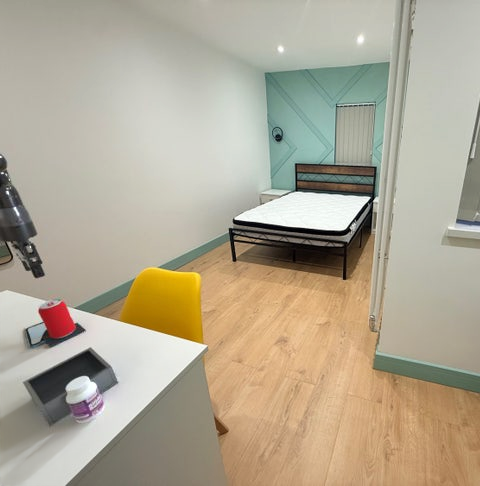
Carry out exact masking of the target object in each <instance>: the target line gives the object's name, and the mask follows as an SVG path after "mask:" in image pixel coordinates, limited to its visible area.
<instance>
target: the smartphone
mask: <svg viewBox="0 0 480 486" xmlns="http://www.w3.org/2000/svg"><path fill="white" fill-rule="evenodd" d="M24 334H25V338H26V341H27V344H28V347H29V349H34V348H37V347H39V346H42V345H44V344H47V343H46V342H45V340H44V339H43V337H45V336H48V335H50V334H49V332H48V330H47V328H46V326H45V324H44V322H43V321H42V322H38V323H35V324H33V325H31V326H28V327H26V328H25V329H24Z"/></svg>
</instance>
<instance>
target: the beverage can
mask: <svg viewBox="0 0 480 486" xmlns="http://www.w3.org/2000/svg"><path fill="white" fill-rule="evenodd" d="M37 312H38V315H39V317H40V318H41V321H42V322H44V324H45V326H46V328H47V330H48V332H49V334H50V336H51V338H62V337H65V336H68V335H69V334H71V333H72V332H73V331H74V330H75V329H76V326H75V322H74V320H73V317H72V315H71V313H70V311H69V309H68V306H67V304H66V303H65V302H64V301H63V300H62V299H61V298H53V299H49V300H46V301H44V302H42V303H40V304H39V305H38V310H37Z"/></svg>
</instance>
